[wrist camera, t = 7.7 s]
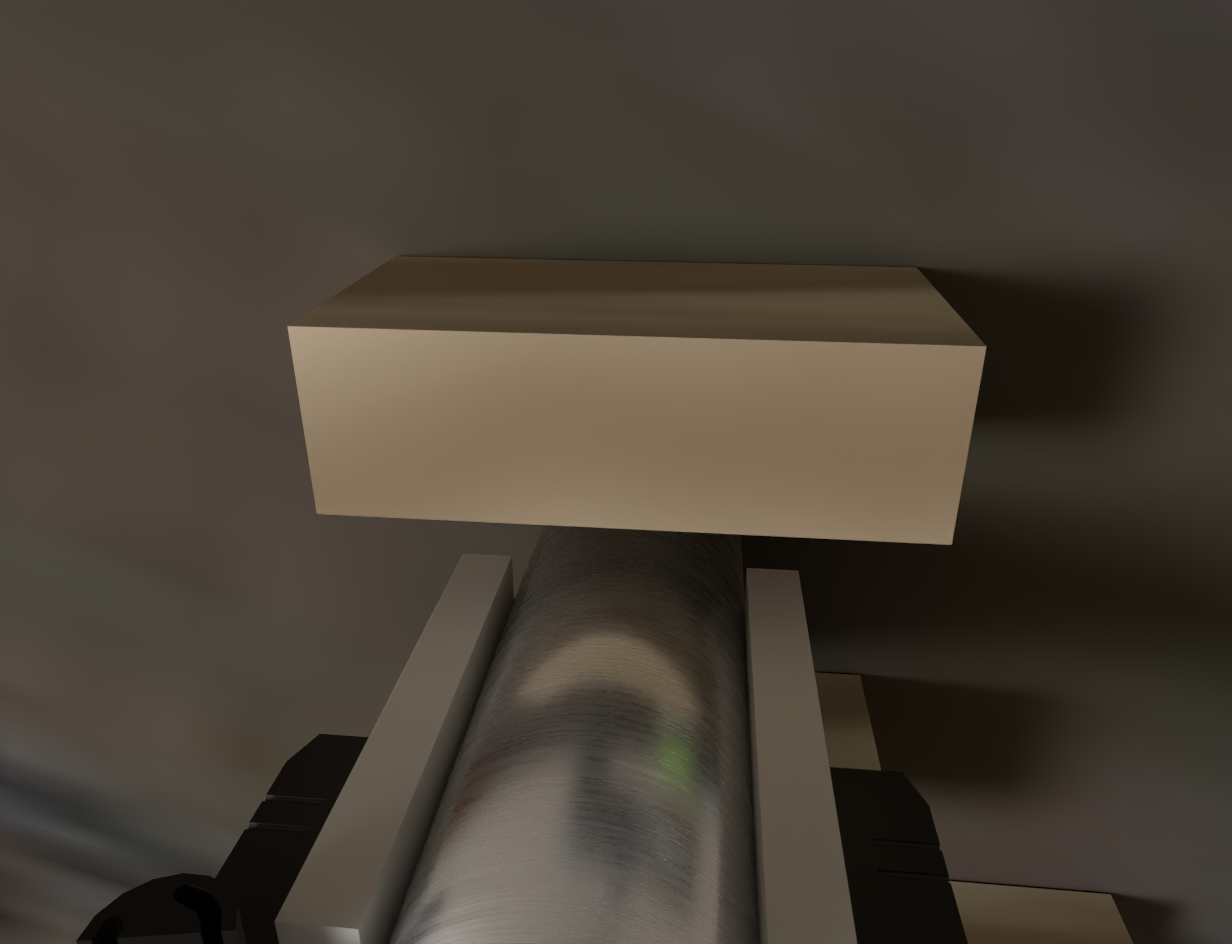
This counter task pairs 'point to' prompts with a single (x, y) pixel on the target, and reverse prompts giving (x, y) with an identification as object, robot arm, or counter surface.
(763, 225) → the counter surface
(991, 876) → the counter surface
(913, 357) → the slot rails
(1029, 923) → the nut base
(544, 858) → the pin
